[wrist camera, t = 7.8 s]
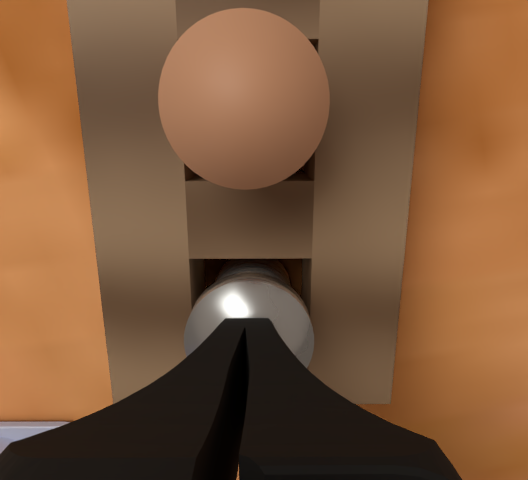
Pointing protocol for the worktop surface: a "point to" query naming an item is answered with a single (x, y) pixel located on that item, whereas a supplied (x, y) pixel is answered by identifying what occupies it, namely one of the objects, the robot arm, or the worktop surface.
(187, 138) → the terracotta plug
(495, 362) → the worktop surface
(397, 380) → the worktop surface
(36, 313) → the worktop surface
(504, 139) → the worktop surface
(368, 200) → the walnut block
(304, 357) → the grey plug
